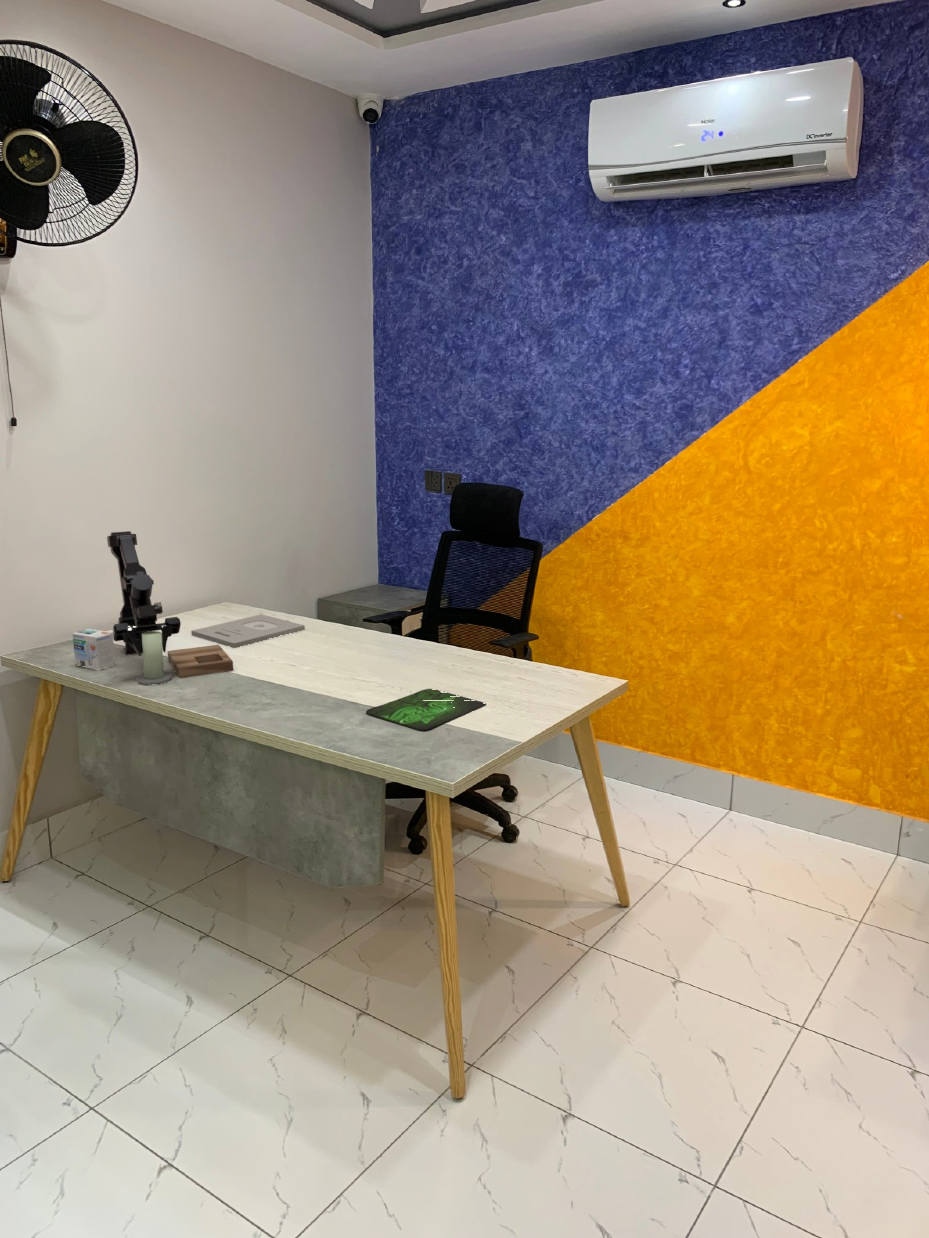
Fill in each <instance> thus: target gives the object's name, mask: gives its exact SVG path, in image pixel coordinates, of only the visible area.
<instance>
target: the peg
mask: <svg viewBox="0 0 929 1238" xmlns="http://www.w3.org/2000/svg"><path fill="white" fill-rule="evenodd" d="M142 647H143V653H142V659H143V660H142V662H143V674H144V677H145V678H147V679H157V678H161V677H163V676H164V672H165V671H164V670H165V669H164V667H165V666H164V656H163V655H164V651H163V647H162V631H159V630H157V631H149V632H144V633H142Z"/></svg>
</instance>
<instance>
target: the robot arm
mask: <svg viewBox="0 0 929 1238" xmlns="http://www.w3.org/2000/svg"><path fill="white" fill-rule="evenodd" d="M137 537H138V536H137V533H132V531H115V532H114V531H113V532H110V535H107V537H106V539H107V540H106V541H107V547H108V548H109V549H110V553H111V555H112V556H113V557H114V558H115V559H116V560H117V566H118V567H117V568H118V573H119V574H118V575H119V581H120V587H121V594H122V601H123V605H122V607H121V610H120V612H119V617H118V623H114V625H113V626H112V633H113V642H114V641H115V642H120V641H122V642H123V643H124V645H125V646H124V648H123V652H124V654H125V655H133V654H137V655H138V656H139V657H140V656H142V654H143V647H142V633H144V632H150V631H160V632H161V633H162V649H163V653H166V652H167V651H166V650H167V643H168V638H171V637H172V635H177V634H178V633H180V629H181V624H182V623H181V619H180V618H179V617H178V616H173V617H172V616H171V617H165V618H164V622H161V623H157V622H158V617H157V616H158V615H162V613H163V610H164V609H163V605H162V602H161V601H160V602H154V604H152V600H151V596H152V593H153V592H152V591H153V585H155V582H154V580H153V578H151V576H150V574H148V573H147V570H146V568H145V567H144V566H142V565H141V564H140V560H139V557H138V553H137V550H136V546H137V545H138V540H137V539H138V538H137Z"/></svg>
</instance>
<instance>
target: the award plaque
mask: <svg viewBox="0 0 929 1238" xmlns="http://www.w3.org/2000/svg"><path fill="white" fill-rule="evenodd" d="M302 630H303V631H305V630H306V625H304V624H300V623H297V622H293V621H289V620H286V619H280V618H277V617H274V616H273V617H272V616H269V615H266V614H262V613H261V614H257V615H251V616H247V617H244V618H240V619H235V620H231V621H227V622H222V623H218V624H215V625H214V624H213V625H211V626H206V627H201V628H197V629H192V630H191V632H190V633H191V636H192V637H196V638H200V639H202V640H206V641H210V642H212V643H215V642H216V643H215V644H217V645H223V646H226V647H228V646H230V647H229V648H232V649H237V648H241V647H240V646H242V647H245V646H249V645H252V644H256V643H255V642H257V643H260V642H259V641H261V642H264V641H263V640H265V641H268V640H270V639H269V638H272V639H275V638H274V637H276V638H279V637H278V636H280V635H284V636H286V635H285V634H288V635H290V634H289V633H291V634H295V633H298V632H297V631H299V632H302ZM294 632H295V633H294ZM280 637H281V636H280ZM267 639H268V640H267ZM248 644H249V645H248ZM244 645H245V646H244Z"/></svg>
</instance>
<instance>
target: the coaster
mask: <svg viewBox="0 0 929 1238" xmlns="http://www.w3.org/2000/svg"><path fill="white" fill-rule="evenodd" d="M172 677H173V676H172V673H170V672H168V671H164V676H163V677H161V678H157V679H147V678H145V677H144V673H141V674H139V675H137V676H136V678H135V681H136V683H137V682H138V683H139V684H138V683H137V684H138V685H140V684H145V685H144V686H149V685H148V684H159V685H162V684H161V683H163V684H165V683H164V682H166V683H168V682H167V681H169V682H170V681H171V680H172V679H173V678H172Z"/></svg>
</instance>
